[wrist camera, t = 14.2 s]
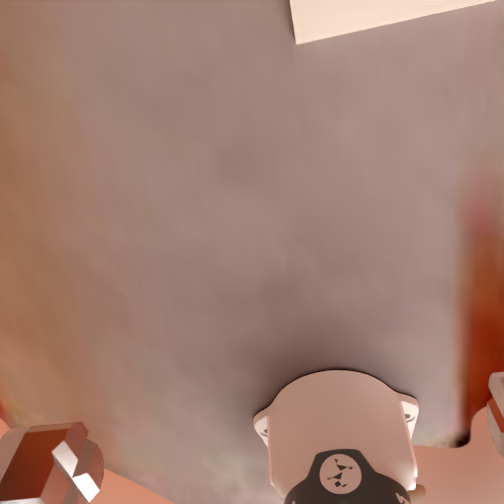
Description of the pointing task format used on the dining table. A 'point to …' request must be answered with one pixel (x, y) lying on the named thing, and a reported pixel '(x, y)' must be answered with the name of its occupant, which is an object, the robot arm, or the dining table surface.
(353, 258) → the dining table surface
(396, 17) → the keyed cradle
